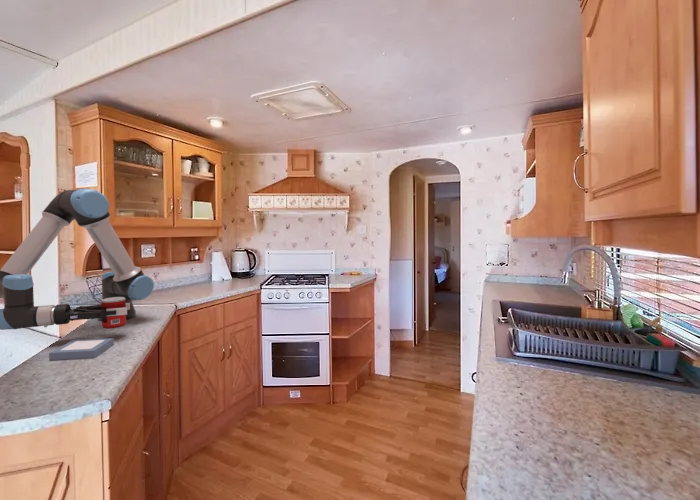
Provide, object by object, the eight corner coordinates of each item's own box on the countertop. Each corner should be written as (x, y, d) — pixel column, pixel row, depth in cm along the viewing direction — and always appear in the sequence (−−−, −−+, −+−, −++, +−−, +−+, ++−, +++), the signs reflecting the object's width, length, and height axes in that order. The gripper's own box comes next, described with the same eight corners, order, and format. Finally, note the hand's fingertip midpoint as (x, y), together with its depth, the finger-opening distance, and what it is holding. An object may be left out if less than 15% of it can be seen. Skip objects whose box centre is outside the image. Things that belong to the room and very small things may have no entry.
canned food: (131, 323, 134) (130, 297, 133) (115, 329, 126) (114, 301, 125) (113, 322, 134) (112, 296, 134) (97, 328, 127) (95, 300, 126)
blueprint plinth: (73, 346, 119) (73, 339, 119) (113, 344, 122) (113, 338, 122) (49, 360, 106) (49, 352, 106) (94, 357, 109) (94, 350, 109)
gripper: (64, 317, 131) (131, 311, 141) (45, 332, 112) (125, 324, 123) (63, 299, 130) (131, 294, 141) (44, 311, 112) (124, 304, 123)
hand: (128, 308), depth 132 cm, fingers closed on canned food, 8 cm apart
